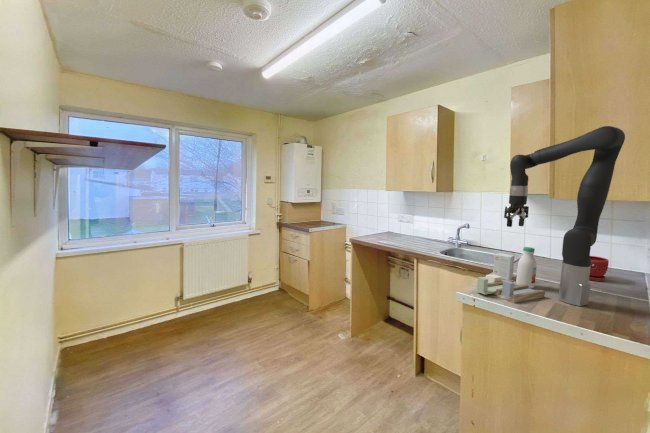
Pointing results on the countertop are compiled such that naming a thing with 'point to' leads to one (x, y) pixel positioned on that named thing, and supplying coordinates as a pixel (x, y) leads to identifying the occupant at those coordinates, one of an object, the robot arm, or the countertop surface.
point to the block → (493, 278)
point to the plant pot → (598, 268)
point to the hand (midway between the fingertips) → (515, 226)
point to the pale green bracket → (486, 286)
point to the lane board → (517, 297)
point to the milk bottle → (526, 268)
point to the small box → (503, 265)
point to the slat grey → (512, 289)
